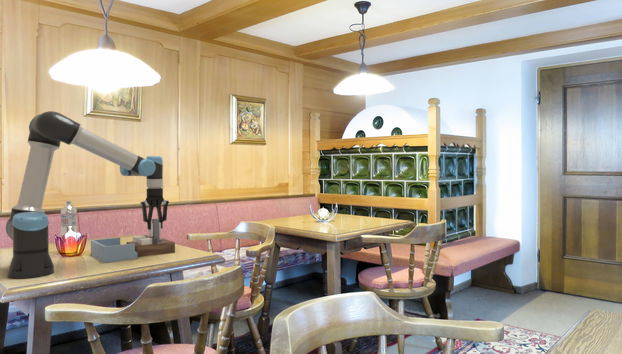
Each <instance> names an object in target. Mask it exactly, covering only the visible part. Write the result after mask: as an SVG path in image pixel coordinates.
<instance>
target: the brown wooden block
mask: <svg viewBox="0 0 622 354" xmlns="http://www.w3.org/2000/svg"><path fill="white" fill-rule="evenodd" d="M160 239H161V240H162V242H157V244H149V245H139V244H138V243H135V251H136V252H137V258H141V257H142V258H143V257H150V256H157V255H168V254H174V253H176V242H175V241H173V240H170V239H169V240H168V239H166V238H160ZM133 243H134V242H133V240H132V241H126V243H125V244H133Z"/></svg>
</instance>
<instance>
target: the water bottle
mask: <svg viewBox="0 0 622 354" xmlns="http://www.w3.org/2000/svg"><path fill="white" fill-rule="evenodd" d="M71 203H72V202H71V201H70V200H69V201H66V204H65V205H64V206H63V207H62V208H61V210H60V236H61V235H63V234H66V233H67V232H68V231H69V230H72V231H74V232H77V233H78V225H77V224H78V222H77V217H78V216H77V211H78V210H77V208H76V207H75V206H74V205H73V204H71Z"/></svg>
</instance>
